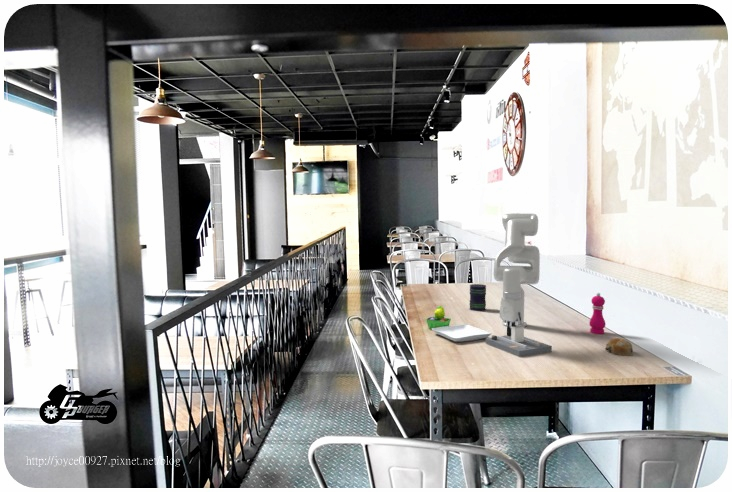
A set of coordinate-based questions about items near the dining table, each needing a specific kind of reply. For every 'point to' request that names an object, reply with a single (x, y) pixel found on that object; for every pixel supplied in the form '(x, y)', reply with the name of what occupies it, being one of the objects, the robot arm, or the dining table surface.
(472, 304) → the storage jar
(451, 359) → the dining table surface
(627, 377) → the dining table surface
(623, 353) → the bread roll
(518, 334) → the block
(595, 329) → the pepper mill
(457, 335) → the salad plate
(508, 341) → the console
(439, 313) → the fruit basket
